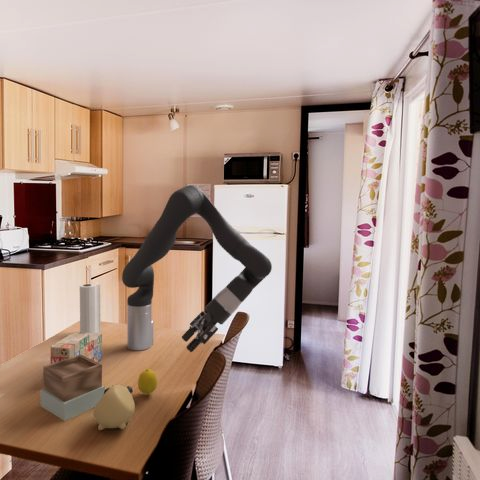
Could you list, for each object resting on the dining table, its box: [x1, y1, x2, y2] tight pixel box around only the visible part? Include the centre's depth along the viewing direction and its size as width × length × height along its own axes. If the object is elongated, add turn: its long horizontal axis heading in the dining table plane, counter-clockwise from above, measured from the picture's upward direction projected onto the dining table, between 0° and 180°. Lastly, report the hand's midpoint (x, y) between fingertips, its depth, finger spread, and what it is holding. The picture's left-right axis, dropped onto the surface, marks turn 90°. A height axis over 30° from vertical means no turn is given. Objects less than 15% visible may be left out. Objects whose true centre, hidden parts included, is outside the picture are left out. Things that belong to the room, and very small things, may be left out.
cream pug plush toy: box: [92, 384, 136, 431], centre depth 97 cm, size 10×12×11 cm
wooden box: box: [42, 354, 103, 402], centre depth 106 cm, size 11×11×6 cm
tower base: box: [39, 384, 106, 422], centre depth 106 cm, size 12×12×5 cm
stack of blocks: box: [50, 332, 103, 364], centre depth 127 cm, size 21×6×12 cm, turn 173°
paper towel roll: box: [79, 283, 102, 334], centre depth 160 cm, size 7×6×21 cm
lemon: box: [137, 368, 158, 396], centre depth 112 cm, size 6×6×8 cm
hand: (186, 344), depth 114 cm, fingers open, 8 cm apart
